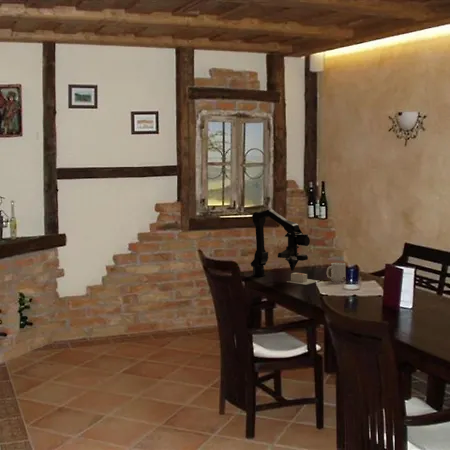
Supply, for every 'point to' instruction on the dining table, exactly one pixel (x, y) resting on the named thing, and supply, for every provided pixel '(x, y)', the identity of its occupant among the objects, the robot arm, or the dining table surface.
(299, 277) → the block
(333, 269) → the cup
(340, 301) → the dining table surface
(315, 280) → the mat
